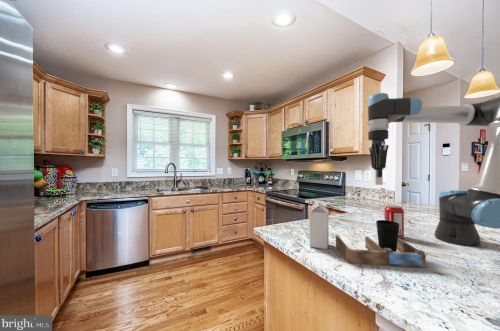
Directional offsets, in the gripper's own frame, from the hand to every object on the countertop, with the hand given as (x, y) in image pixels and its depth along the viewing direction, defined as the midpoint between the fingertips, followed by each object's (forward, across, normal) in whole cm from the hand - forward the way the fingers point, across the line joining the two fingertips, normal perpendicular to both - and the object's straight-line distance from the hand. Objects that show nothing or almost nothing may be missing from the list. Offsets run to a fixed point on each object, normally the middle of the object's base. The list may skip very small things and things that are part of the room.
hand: (378, 184), depth 90 cm
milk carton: (+27, +4, -26) cm, 37 cm away
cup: (+27, +8, 0) cm, 28 cm away
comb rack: (+26, +12, -6) cm, 29 cm away
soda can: (+27, -13, +12) cm, 32 cm away
